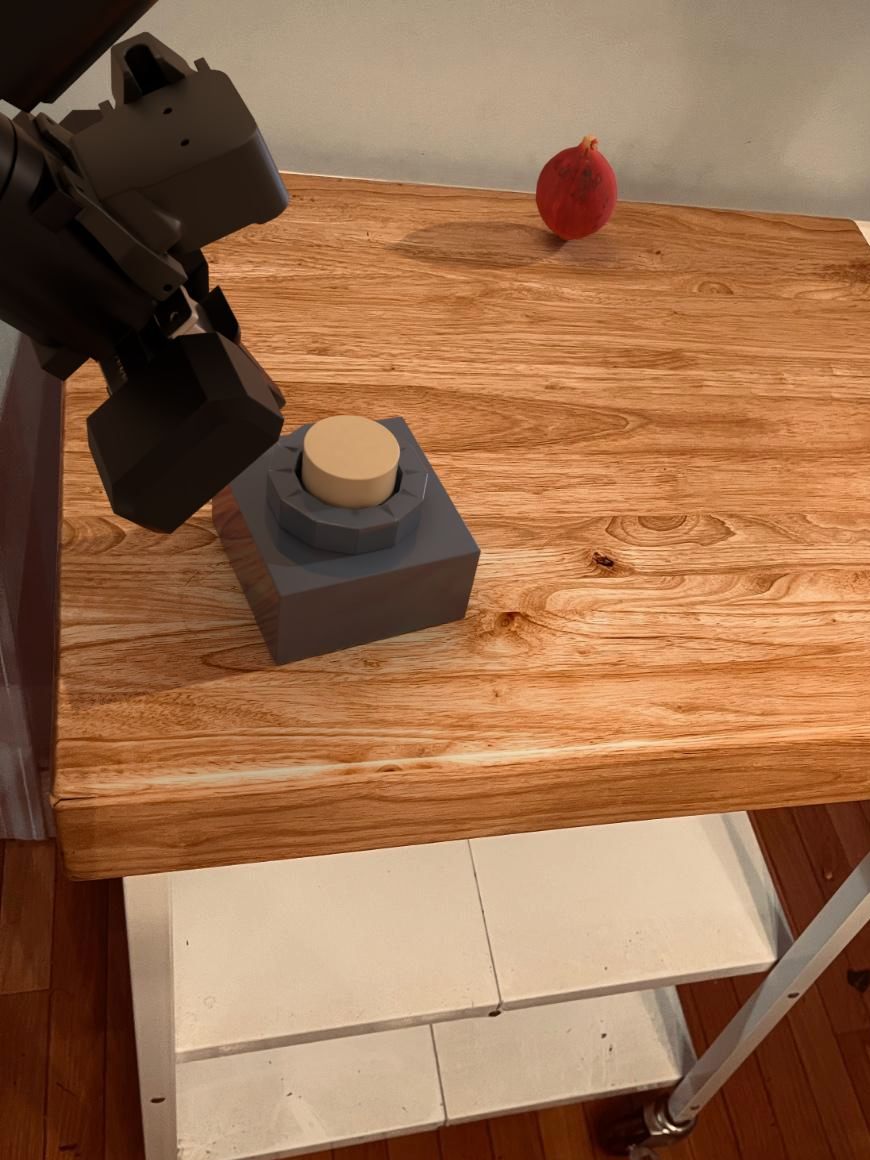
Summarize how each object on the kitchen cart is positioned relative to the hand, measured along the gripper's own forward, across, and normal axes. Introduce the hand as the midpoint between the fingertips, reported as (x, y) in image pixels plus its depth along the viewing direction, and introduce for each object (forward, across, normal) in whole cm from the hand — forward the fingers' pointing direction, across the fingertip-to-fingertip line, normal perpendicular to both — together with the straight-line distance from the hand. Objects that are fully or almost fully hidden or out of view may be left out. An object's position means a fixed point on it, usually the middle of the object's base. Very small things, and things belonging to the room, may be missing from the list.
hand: (276, 405), depth 51 cm
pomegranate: (+30, +26, -14) cm, 42 cm away
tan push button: (+6, 0, +1) cm, 6 cm away
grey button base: (+11, 0, +6) cm, 12 cm away
